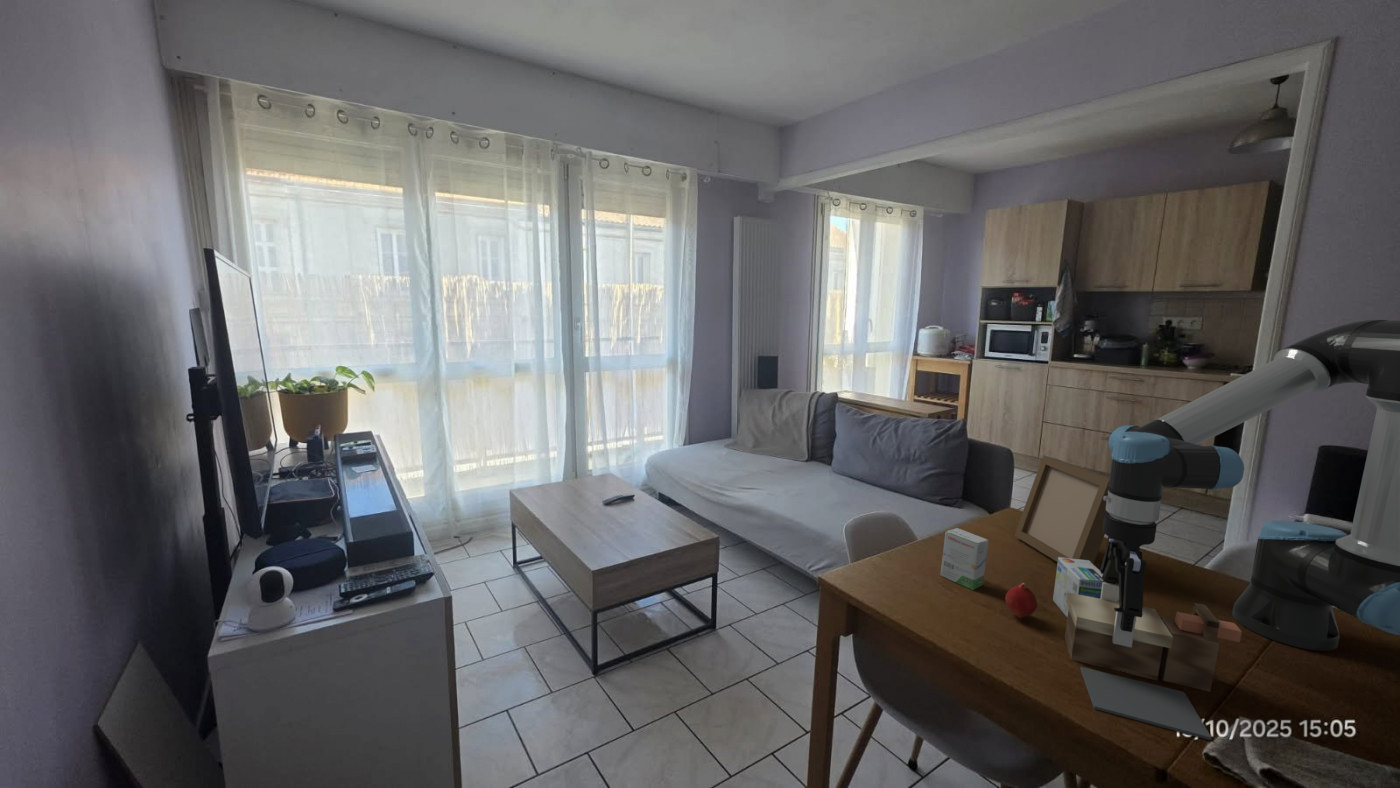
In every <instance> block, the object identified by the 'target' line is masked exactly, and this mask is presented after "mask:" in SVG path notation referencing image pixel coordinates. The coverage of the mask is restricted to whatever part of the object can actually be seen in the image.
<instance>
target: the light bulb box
mask: <svg viewBox="0 0 1400 788" xmlns="http://www.w3.org/2000/svg"><path fill="white" fill-rule="evenodd" d="M1055 574H1056V575H1055V580H1054V588H1053V589H1054V590H1053V598H1052V601H1053V602H1054V603H1055V605H1056V606H1057V608H1059V609H1060V610H1061V612H1062V613H1063V615H1065V617H1066V618H1067V617H1068V610H1069V609H1068V606H1067V604H1066V598H1067V592H1068V593H1074V594H1079V595H1084V596H1089V597H1094V598H1099V599H1100V597H1101V590H1102V583H1103V582H1105V581H1103V579H1102V575H1103V574H1101V572H1100V569H1099V568H1098V567H1097V566H1096V565H1095V564H1092V563H1091V562H1090V561H1089V560H1080V559H1070V558H1063V557H1058V562H1057V566H1056V573H1055Z"/></svg>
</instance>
